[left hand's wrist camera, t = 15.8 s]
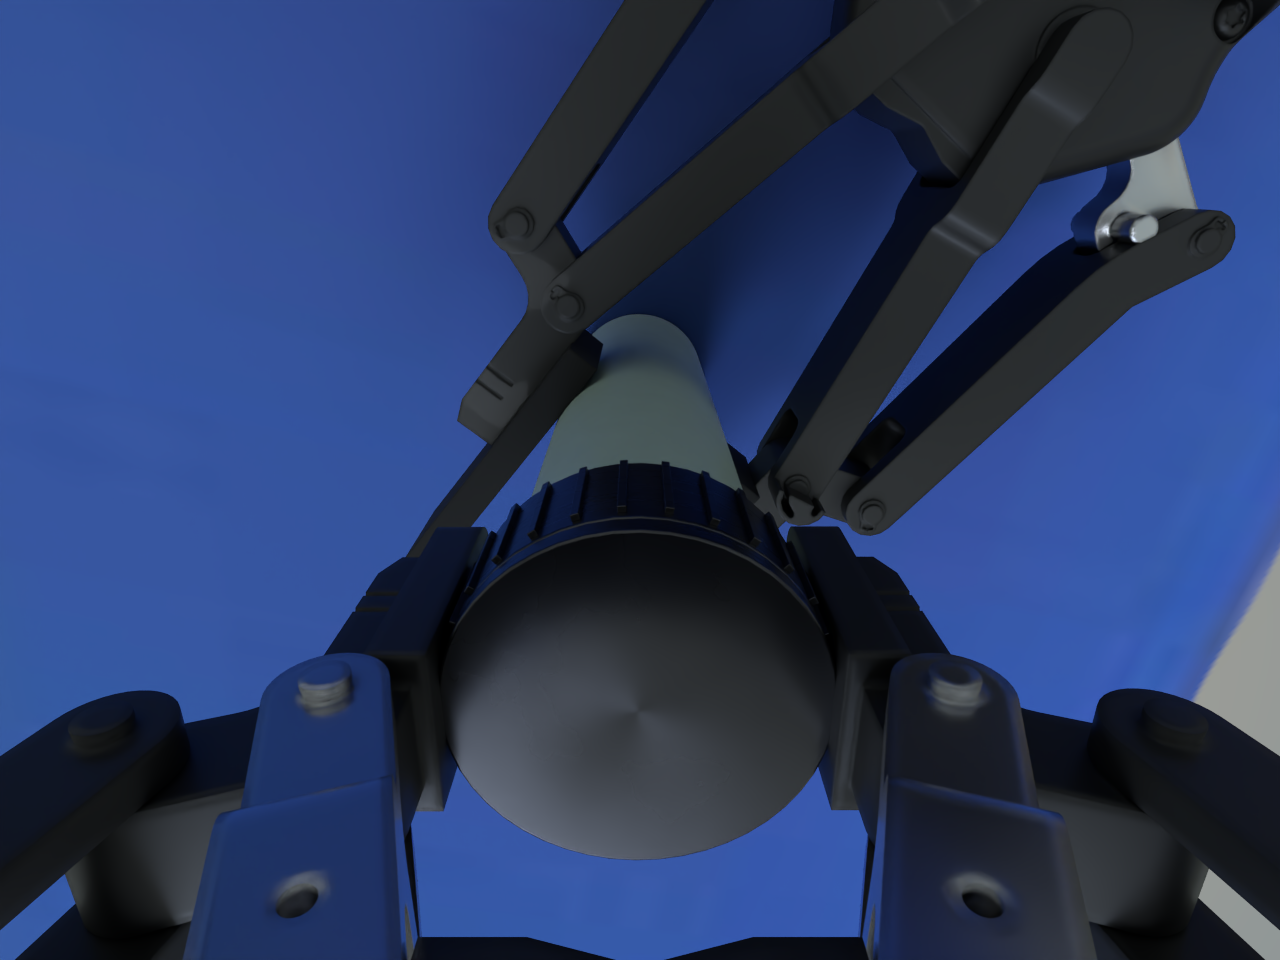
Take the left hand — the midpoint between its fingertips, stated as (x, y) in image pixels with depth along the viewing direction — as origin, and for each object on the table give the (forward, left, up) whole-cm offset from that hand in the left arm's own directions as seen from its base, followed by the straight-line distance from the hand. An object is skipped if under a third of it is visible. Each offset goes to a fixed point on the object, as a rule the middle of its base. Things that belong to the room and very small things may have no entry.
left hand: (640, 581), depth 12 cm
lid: (0, 0, +3) cm, 3 cm away
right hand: (+3, -4, -7) cm, 9 cm away
